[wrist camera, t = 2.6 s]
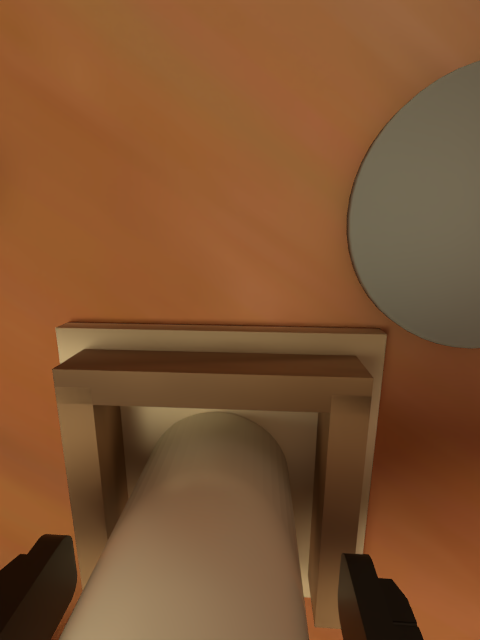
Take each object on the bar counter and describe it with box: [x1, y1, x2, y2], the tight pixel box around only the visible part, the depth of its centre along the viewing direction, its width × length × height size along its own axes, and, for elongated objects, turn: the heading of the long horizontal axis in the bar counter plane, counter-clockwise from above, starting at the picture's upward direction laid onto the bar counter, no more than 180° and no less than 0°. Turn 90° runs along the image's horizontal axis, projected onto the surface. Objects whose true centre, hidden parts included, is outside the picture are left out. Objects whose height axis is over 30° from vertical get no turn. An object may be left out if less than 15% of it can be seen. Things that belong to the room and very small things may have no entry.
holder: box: [52, 323, 387, 629], centre depth 13 cm, size 12×12×3 cm
